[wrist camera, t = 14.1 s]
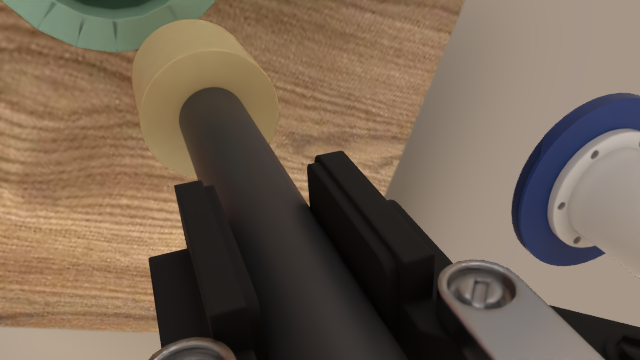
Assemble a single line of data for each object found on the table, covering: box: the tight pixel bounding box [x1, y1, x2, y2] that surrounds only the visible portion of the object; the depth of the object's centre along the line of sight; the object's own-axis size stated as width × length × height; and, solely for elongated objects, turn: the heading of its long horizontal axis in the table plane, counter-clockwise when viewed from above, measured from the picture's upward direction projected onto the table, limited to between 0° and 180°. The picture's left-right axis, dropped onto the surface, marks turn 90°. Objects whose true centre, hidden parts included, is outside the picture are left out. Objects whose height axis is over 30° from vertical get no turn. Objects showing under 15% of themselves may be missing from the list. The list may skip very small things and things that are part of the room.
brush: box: [132, 19, 408, 360], centre depth 14 cm, size 4×4×16 cm
